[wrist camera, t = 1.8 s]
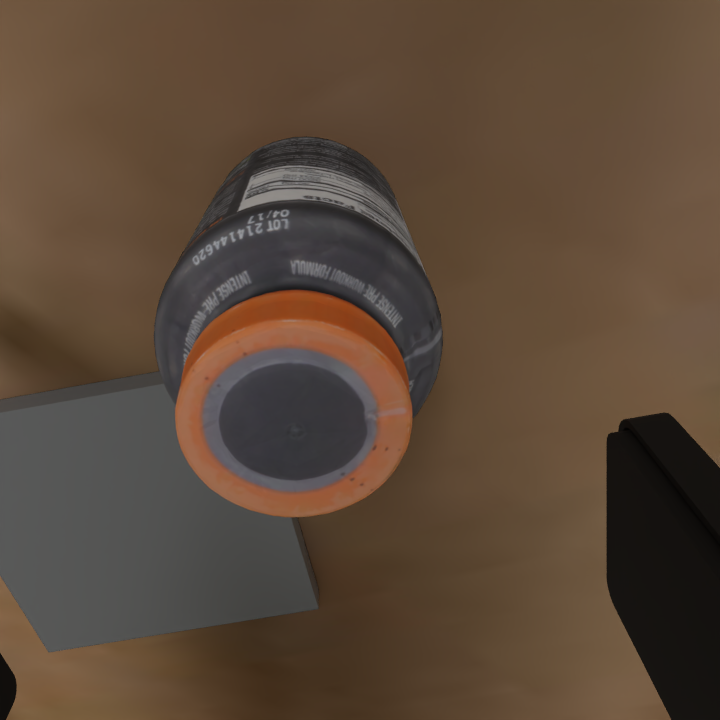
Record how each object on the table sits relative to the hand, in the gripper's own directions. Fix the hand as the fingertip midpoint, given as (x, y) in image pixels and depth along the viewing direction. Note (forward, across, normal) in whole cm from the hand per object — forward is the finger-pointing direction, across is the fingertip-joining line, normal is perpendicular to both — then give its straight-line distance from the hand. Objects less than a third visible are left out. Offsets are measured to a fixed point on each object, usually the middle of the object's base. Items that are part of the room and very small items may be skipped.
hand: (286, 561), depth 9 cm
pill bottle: (+14, 0, -1) cm, 14 cm away
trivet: (+14, +9, +9) cm, 19 cm away
